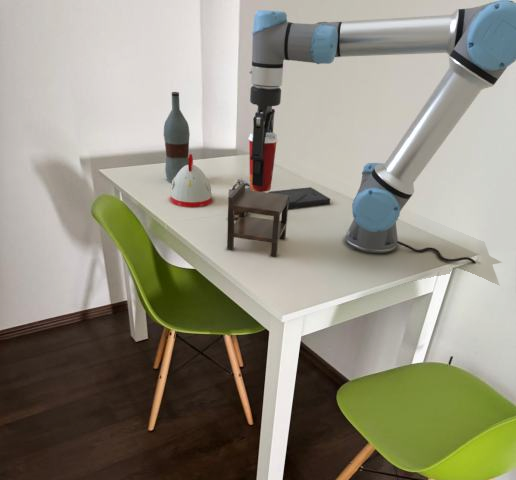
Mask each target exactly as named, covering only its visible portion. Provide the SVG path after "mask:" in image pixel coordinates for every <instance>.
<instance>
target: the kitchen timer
mask: <svg viewBox="0 0 516 480" xmlns="http://www.w3.org/2000/svg"><path fill="white" fill-rule="evenodd" d="M188 157H189V163H188V165H186V166H184V167H183V168H182V169H181V170H180V171H179V172H178V173H177V175H176V177H174V179H173V180H172V183H171V186H170V202H171V203H172V204H174V205H177V206H179V207H185V208H200V207H205V206H208V205H210V204H211V203H212V201H213V199H212V198H213V194H212V186H211V181H210V179H209V178H208V177H207V176H206V175H205V173H204V171H203V170H202V169H201V168H199V166H197V165H195V164H194V159H193V154H190V153H188Z"/></svg>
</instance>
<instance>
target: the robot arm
mask: <svg viewBox="0 0 516 480" xmlns="http://www.w3.org/2000/svg"><path fill="white" fill-rule="evenodd" d="M287 16H288V15H287V12H285V11H280V10H270V9H269V10H268V9H259V10H256V12H255V14H254V17H253V27H252V28H253V29H252V33H251V34H252V44H251V45H252V46H251V48H252V49H251V53H252V54H251V69H249V70H248V73H249V74H250V76H251V77H250V83H251V84H252V86H251V87H250V92H249V93H250V94H249V95H250V97H249V102H250V103H251V104H252V105H256V106H257V111H255V114H254V116H253V118H252V120H253V129H252V130H253V131H252V132H253V142H252V156H251V157H250V156H249V161H250V160H253V178H252V185H256V186H263V173H264V160H263V159H264V158H263V157H264V148H265V137H266V133H270V132H272V133H274V124H275V123H274V122H275V121H274V120H275V113H276V110H275V108H273V107H276V106H280V104H281V100H282V99H281V98H282V89H281V86H282V85H283V78H284V77H283V76H284V73H283V72H284V61H294V62H301V63H312V64H316V65H322V64H324V65H326V64H328V65H329V64H332V63H333V62H334V60H335V58H344V57H348V58H349V57H365V56H366V57H369V56H399V55H427V54H447V55H448V70H447V71H446V72H445V73H444V75H443V76H442V78H441V80H440V81H439V82H438V84H437V86H436V87H435V88H434V90H433V92H432V93H431V94H430V96H429V98H428V99H427V100H426V102H425V103H424V105H423V106H422V107H421V109H420V111H419V112H418V113H417V115H416V116H415V118H414V120H413V121H412V123H411V124H410V125H409V127H408V128H407V130H406V131H405V133H404V134H403V136H402V137H401V139H400V140H399V141H398V143H397V144H396V146H395V148H394V149H393V151H392V152H391V154H390V155H389V157H388V158H387V160H386V161H385V163H382V162H368V163H366V164H365V165H364V166H363V169H362V172H361V175H362V176H361V181H360V185H359V188H358V190H357V192H356V195H355V197H354V199H353V200H352V206H351V208H352V210H351V211H352V217H353V220H352V222H351V224H350V226H349V228H348V229H347V231H346V234H345V239H344V240H345V241H344V242H345V244H346V245H347V246H349V248H351V249H352V250H354V251H358V252H361V253H363V254H364V253H365V254H373V255H387V254H390V253H393V252H395V251H396V250H397V248H398V245H400V246H402V247H404V248H407V249H408V250H411V251H413V252H414V253H415V252H416V253H423V252H426V251H432V252H435V253H436V254H437V256H438V258H439V259H440V260H442V261H445V262H448V263H453V262H454V263H455V262H459V261H470V262H471V263H472V264H474V265H475V264H477V262H476V260H475V259H473V258H472V257H468V256H463V257H458V258H457V257H456V258H446V257H444V256H442V254H441V252H440V251H439V250H438V249H437V248H435V247H430V246H429V247H425V248H422V249H418V248H414V247H412V246H411V245H409V244H406V243H404V242H401V241H399V239H398V231H397V222H398V220H399V217H400V214H401V211H402V210H403V208H404V207H405V205H406V204H407V203H408V202H409V200H410V198H411V197H412V196H413V194H414V193H415V188H414V183H415V182H416V181H417V179H418V178H419V176H420V175H421V174H422V172H423V171H424V170H425V168H426V167H427V166H428V164H429V163H430V161H431V160H432V158H433V157H434V156H435V154H436V153H437V152H438V151H439V149H440V148H441V147H442V145H443V144H444V142H445V141H446V140H447V138H448V136H450V134H451V132H452V131H453V130H454V128H455V127H456V126H457V124H458V123H459V122H460V120H461V119H462V118H463V116H464V115H465V114H466V112H467V111H468V109H469V108H470V107H471V105H472V104H473V102H474V101H475V100H476V98H477V97H478V95H479V94H480V93H481V91H483V90H485V89H489V88H493V87H494V86H495V84H496V83H497V81H499V79H500V78H501V76H502V75H503V74H504V72H505V71H506V69H508V68H509V66H511V65H512V64H513V63H515V62H516V2H515V1H513V0H496V1H493V2H489V3H486V4H483V5H479V6H474V7H469V8H457V9H456V10H454V12H453V13H452V14H442V15H426V16H409V17H393V18H392V17H391V18H375V19H374V18H373V19H361V20H343V21H319V22H316V23H300V22H299V23H298V22H297V23H296V22H290V21H288V19H287ZM256 154H258V155H256ZM453 358H454V356H453V355H452V356H451V355H450V357H449V360H448V363H447V365H448V364H449V365H450V366H451V365H452V362H453Z"/></svg>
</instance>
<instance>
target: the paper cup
mask: <svg viewBox="0 0 516 480" xmlns="http://www.w3.org/2000/svg"><path fill="white" fill-rule="evenodd" d="M249 133H250V134H249V136H248V138H247V139H248V140H249V141H248V142H249V143H248V144H249V147H248V149H249V150H248V151H249V156H248V157H249V158H250V157H251V156H252V142H253V131H251V132H249ZM277 142H279V139H278V135H277V134H276V133H275V132H273V133H272V132H270V133H266V137H265V148H264V157H263V158H264V159H263V160H264V173H263V186H256V185H252V178H253V160H250V159H249V183H250V189H251V190H252V191H258V192H270V191H271V188H272V181H273V176H274V175H273V173H274V166H275V158H276V149H277ZM256 155H258V154H256Z"/></svg>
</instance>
